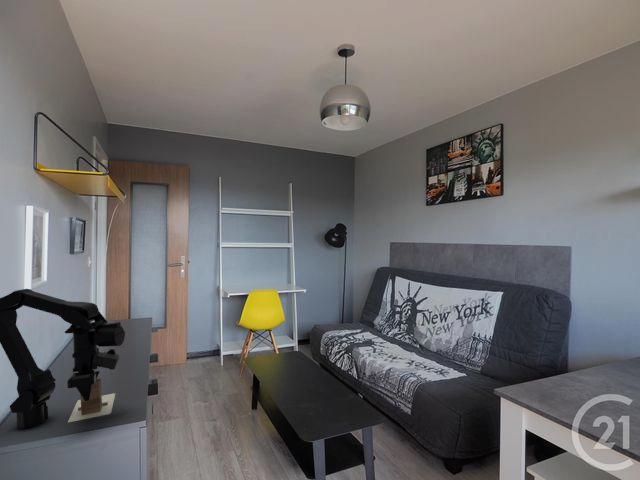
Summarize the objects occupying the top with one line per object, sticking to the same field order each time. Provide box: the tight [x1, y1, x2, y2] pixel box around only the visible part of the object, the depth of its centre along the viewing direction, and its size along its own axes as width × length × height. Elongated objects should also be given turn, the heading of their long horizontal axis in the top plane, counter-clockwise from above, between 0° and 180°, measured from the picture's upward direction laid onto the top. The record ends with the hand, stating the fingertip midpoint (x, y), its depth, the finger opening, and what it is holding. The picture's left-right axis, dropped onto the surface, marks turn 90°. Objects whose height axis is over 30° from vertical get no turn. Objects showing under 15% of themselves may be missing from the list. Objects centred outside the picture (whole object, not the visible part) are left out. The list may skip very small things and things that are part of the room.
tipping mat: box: [67, 392, 116, 423], centre depth 118 cm, size 17×11×2 cm, turn 25°
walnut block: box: [80, 378, 103, 416], centre depth 114 cm, size 4×5×9 cm
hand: (87, 400), depth 108 cm, fingers closed
